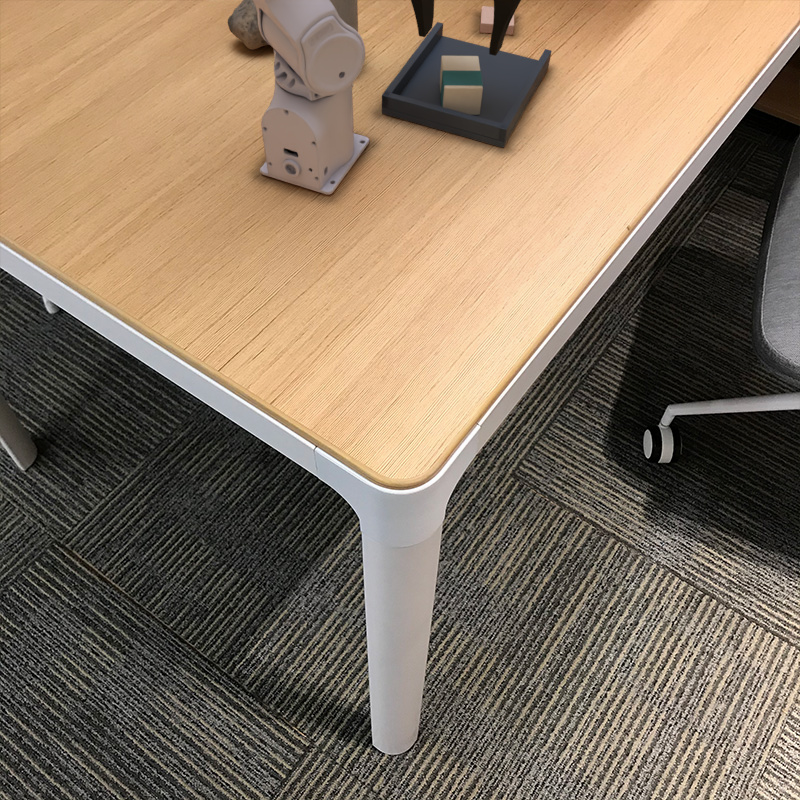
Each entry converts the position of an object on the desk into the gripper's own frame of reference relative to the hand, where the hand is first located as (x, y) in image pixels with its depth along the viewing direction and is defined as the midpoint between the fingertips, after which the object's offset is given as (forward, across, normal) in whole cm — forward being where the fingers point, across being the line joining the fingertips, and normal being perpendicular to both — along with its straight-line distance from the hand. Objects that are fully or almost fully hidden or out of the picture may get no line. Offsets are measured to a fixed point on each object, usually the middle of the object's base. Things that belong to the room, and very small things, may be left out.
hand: (460, 40), depth 78 cm
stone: (+8, +23, -3) cm, 25 cm away
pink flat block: (+8, +1, -18) cm, 19 cm away
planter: (+8, +15, -1) cm, 17 cm away
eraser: (+7, 0, 0) cm, 7 cm away
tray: (+8, 0, -3) cm, 8 cm away
